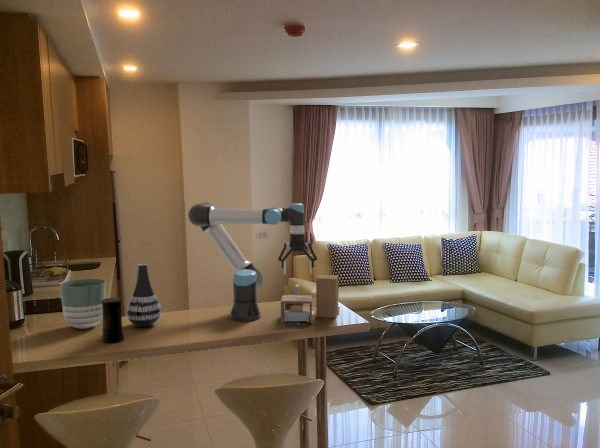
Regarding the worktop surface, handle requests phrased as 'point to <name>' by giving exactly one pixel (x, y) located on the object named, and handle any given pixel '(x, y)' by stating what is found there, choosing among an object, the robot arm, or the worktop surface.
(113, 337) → the container
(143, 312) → the vase
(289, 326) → the pit
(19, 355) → the worktop surface
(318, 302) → the wooden block
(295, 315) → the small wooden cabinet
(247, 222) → the robot arm
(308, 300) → the wooden side table
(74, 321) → the planter
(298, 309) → the block
